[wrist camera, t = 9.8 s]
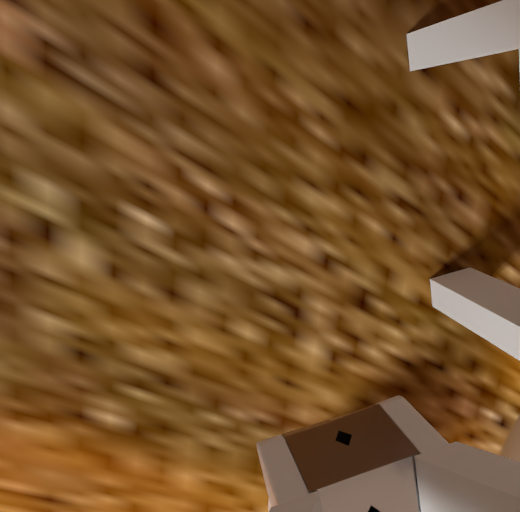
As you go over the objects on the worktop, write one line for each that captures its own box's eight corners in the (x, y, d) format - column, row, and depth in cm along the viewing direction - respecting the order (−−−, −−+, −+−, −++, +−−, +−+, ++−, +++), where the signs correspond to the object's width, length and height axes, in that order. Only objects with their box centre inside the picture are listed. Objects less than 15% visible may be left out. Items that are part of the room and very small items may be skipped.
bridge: (432, 306, 32) (547, 377, 23) (406, 33, 27) (540, -14, 18) (472, 294, 33) (599, 359, 23) (453, 24, 27) (607, -26, 18)
